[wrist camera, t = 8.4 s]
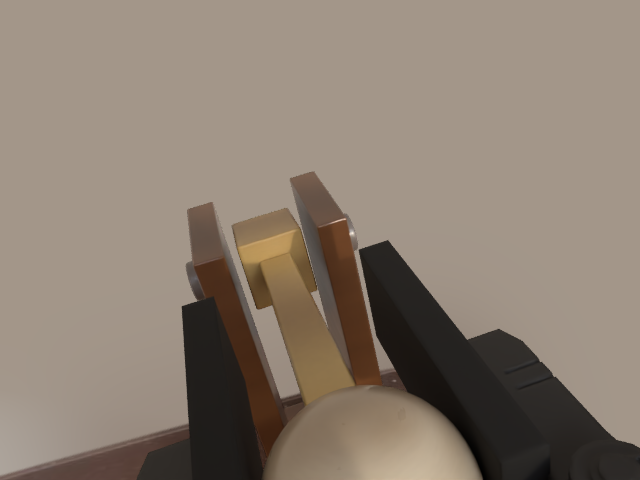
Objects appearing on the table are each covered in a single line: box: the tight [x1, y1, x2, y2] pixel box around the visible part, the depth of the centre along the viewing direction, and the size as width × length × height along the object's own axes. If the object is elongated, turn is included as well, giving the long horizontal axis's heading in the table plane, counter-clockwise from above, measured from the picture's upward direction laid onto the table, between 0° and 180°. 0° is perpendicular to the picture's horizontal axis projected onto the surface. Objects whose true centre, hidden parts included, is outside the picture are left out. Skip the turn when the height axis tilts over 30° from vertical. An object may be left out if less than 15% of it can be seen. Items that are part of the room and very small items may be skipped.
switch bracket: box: [186, 172, 383, 458], centre depth 24 cm, size 10×6×18 cm, turn 14°
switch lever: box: [232, 208, 483, 480], centre depth 14 cm, size 15×4×4 cm, turn 14°
